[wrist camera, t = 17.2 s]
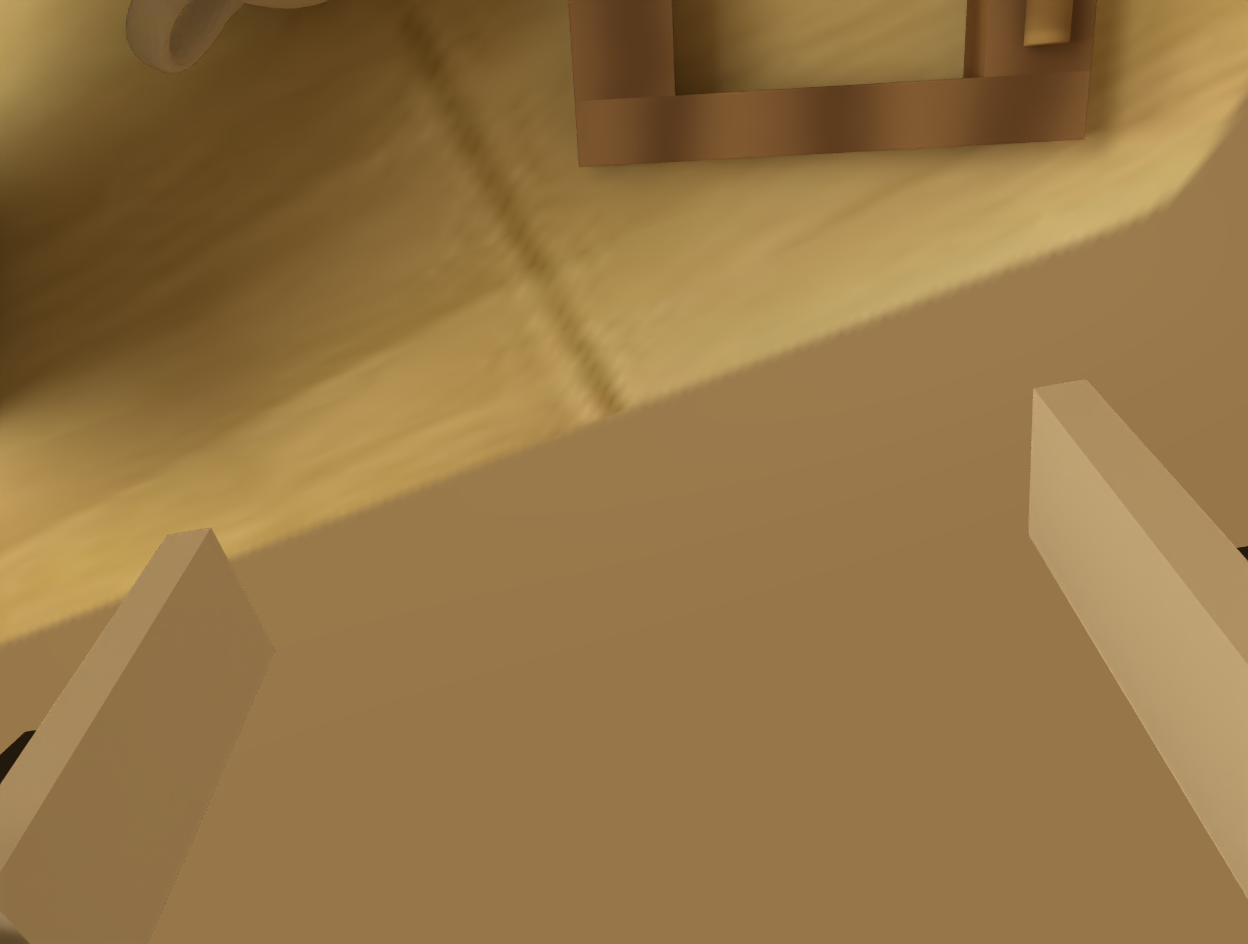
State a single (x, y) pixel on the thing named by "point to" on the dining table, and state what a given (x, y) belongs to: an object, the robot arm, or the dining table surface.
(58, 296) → the dining table surface
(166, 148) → the dining table surface
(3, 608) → the dining table surface
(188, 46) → the teacup
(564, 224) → the dining table surface
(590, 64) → the frame
